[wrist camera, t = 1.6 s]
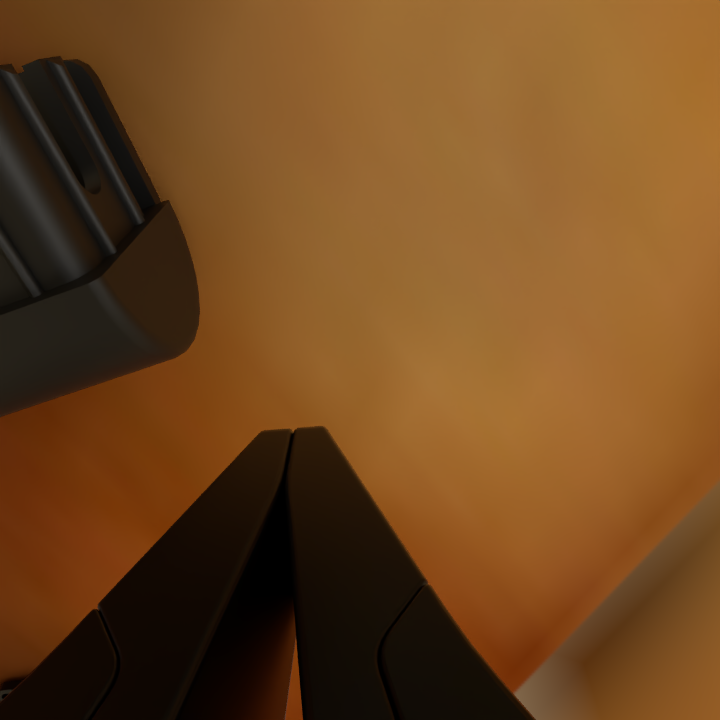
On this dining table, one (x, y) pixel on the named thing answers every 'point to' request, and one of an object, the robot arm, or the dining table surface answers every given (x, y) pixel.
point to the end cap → (81, 242)
